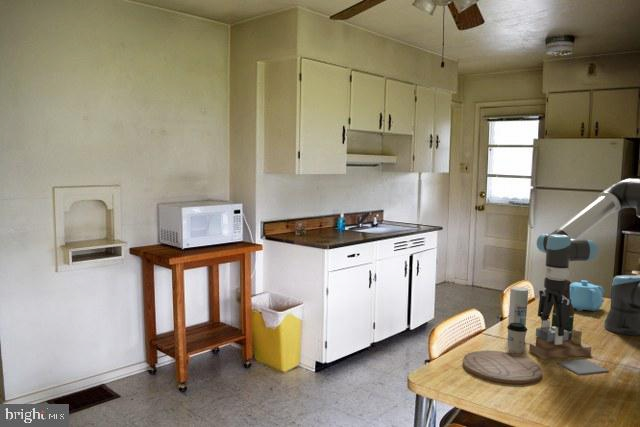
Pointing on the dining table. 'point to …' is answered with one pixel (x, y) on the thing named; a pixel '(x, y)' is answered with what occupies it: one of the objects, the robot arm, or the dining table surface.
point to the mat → (582, 367)
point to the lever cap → (549, 333)
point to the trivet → (502, 367)
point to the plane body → (560, 347)
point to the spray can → (518, 305)
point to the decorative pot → (586, 296)
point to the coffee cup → (516, 337)
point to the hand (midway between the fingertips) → (551, 340)
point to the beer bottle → (570, 328)
